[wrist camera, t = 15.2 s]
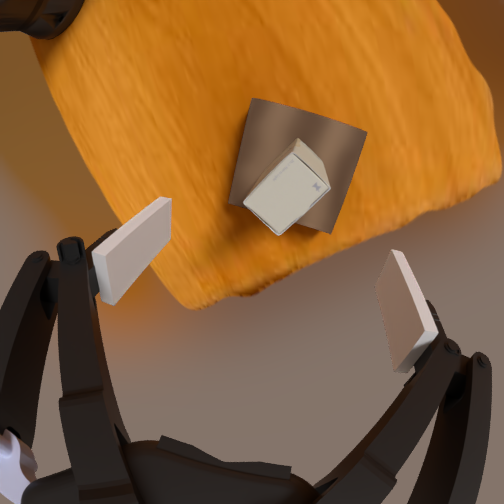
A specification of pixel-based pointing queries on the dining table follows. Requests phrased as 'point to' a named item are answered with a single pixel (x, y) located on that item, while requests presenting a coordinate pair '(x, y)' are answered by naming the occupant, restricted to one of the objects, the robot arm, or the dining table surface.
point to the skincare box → (288, 187)
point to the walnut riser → (315, 137)
